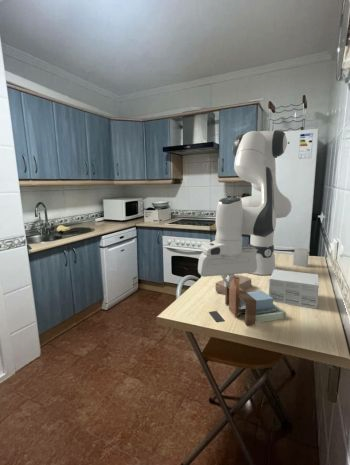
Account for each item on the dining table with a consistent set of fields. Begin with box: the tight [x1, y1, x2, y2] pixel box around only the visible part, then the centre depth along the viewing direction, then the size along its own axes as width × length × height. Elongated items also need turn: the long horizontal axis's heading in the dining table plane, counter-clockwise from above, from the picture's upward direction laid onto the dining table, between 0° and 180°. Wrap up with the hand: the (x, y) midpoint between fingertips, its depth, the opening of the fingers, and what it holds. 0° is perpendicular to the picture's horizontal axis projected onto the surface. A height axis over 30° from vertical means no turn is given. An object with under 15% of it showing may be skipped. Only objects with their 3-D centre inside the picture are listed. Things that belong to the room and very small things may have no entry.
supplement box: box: [268, 269, 320, 310], centre depth 101 cm, size 17×13×9 cm
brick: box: [214, 274, 253, 296], centre depth 111 cm, size 16×8×5 cm, turn 134°
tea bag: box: [292, 246, 309, 268], centre depth 142 cm, size 4×7×10 cm, turn 53°
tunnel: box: [224, 287, 256, 327], centre depth 90 cm, size 16×3×8 cm, turn 14°
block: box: [246, 290, 274, 311], centre depth 91 cm, size 7×8×6 cm
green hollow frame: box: [255, 303, 287, 323], centre depth 92 cm, size 14×11×2 cm
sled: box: [228, 274, 276, 317], centre depth 90 cm, size 11×14×13 cm
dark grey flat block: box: [208, 310, 225, 323], centre depth 88 cm, size 7×3×1 cm, turn 14°
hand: (227, 286), depth 88 cm, fingers closed
